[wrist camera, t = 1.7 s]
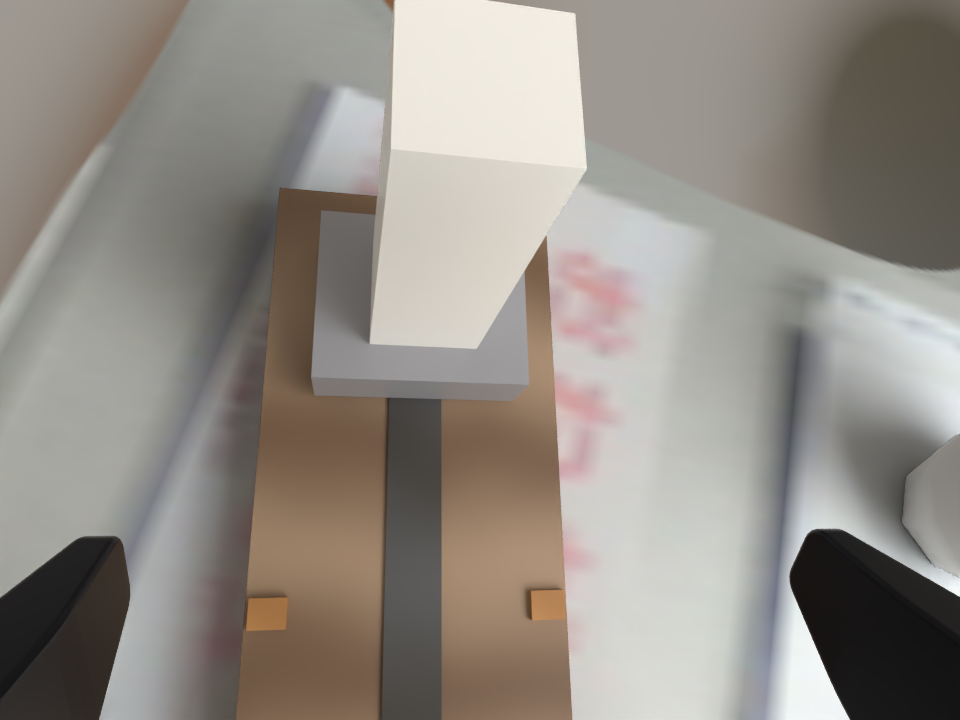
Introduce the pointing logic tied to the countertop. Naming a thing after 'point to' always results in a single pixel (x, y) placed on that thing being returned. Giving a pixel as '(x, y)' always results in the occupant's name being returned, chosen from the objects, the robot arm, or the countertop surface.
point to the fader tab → (452, 206)
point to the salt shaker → (936, 506)
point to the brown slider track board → (400, 530)
